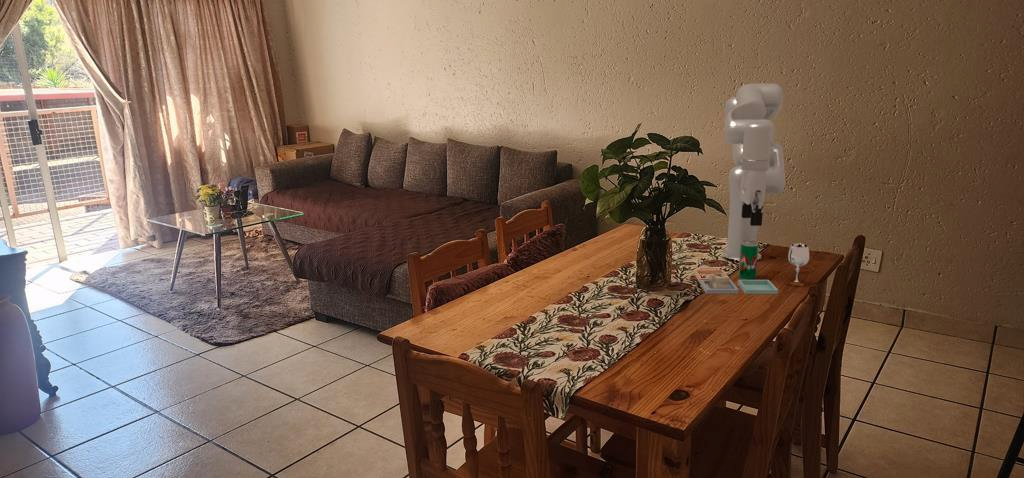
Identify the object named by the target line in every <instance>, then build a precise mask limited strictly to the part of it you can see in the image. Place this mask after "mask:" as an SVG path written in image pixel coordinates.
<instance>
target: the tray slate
mask: <svg viewBox="0 0 1024 478" xmlns="http://www.w3.org/2000/svg"><path fill="white" fill-rule="evenodd" d="M709 281H710V280H700V283H699V285H700V284H701V285H700V286H701V288H702V289H703V291H704V293H705V294H706V295H739V288H738V287H737V285H736V284H735V282H733V281H732V279H730V280H729V289H711V288H710V287H709V285H707V286H706V284H709Z"/></svg>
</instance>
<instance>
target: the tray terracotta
mask: <svg viewBox="0 0 1024 478" xmlns="http://www.w3.org/2000/svg"><path fill="white" fill-rule="evenodd" d="M717 273H723V274H725V275H727V276H728V277H729V275H728V274H727V273H726V272H725V270H724V269H693V275H694V276H695V278H696V279H698V280H697V281H698V283H699V284H700V280H710V278H701V276H700V275H699V274H701V275H702V277H703V274H717ZM729 280H731V278H730V277H729Z"/></svg>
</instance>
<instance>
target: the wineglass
mask: <svg viewBox="0 0 1024 478" xmlns="http://www.w3.org/2000/svg"><path fill="white" fill-rule="evenodd" d="M787 259H788V262H789V263H790V264H791V265H792V266H794V267H796V268H795V280H793V281H794V282H799V279H798V278H799V277H798V275H799V272H800V267H803V266H805V265H807V264H808V263H809V261H810V248H809V245H808V244H806V243H799V242H797V243H791V244H790V247H789V249H788V254H787Z"/></svg>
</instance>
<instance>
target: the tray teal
mask: <svg viewBox="0 0 1024 478" xmlns="http://www.w3.org/2000/svg"><path fill="white" fill-rule="evenodd" d="M737 285H738V286H739V288H740V289H741V290H742V292H743V293H744V294H745V295H778V294H779V289H778V288H777V287H776V286H775V285H774V284H773V283H772V282H771V281H770V280H769V279H752V280H747V279H737Z"/></svg>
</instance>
